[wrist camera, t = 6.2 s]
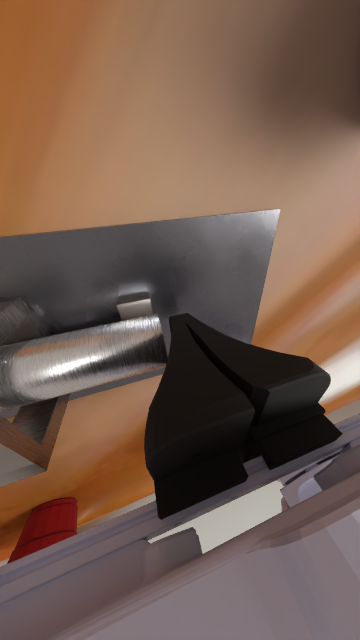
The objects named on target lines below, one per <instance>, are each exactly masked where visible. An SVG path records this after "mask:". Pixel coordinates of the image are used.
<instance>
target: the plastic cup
mask: <svg viewBox="0 0 360 640" xmlns="http://www.w3.org/2000/svg"><path fill="white" fill-rule="evenodd" d="M77 508H78V507H77V500H76V499H72V498H63V499H58V500H53V501H50V502H47V503H44V504H42V505H40V506H38V507H36V508H35V509H34V510H33V511H32V513H31V515H30V517H29V518H28V520H27V522H26V525H25V527H24V529H23V531H22V534H21V536H20V538H19V541H18V543H17V545H16V547H15V550H14V551H13V552H12V554H11V556H10V559H9V561H8V563H7V564H9V563H11V562H13V561H16V560H18V559H20V558H23V557H25V556H27V555H30V554H32V553H34V552H37V551H39V550H41V549H44V548H46V547H48V546H51V545H53V544H56V543H58V542H60V541H63V540H65V539H67V538H70V537H72V536H74V535H77V533H76V529H77Z"/></svg>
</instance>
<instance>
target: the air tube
mask: <svg viewBox="0 0 360 640" xmlns="http://www.w3.org/2000/svg"><path fill="white" fill-rule="evenodd" d="M167 359H168V356H167V351H166V346H165V341H164V337H163V333H162V329H161V325H160V321H159V318H158V315H157V314H153V315H148V316H143V317H138V318H134V319H129V320H124V321H119V322H115V323H110V324H105V325H100V326H95V327H91V328H86V329H81V330H76V331H72V332H67V333H62V334H57V335H52V336H48V337H43V338H38V339H33V340H29V341H24V342H19V343H14V344H9V345H5V346H0V412H3V411H7V410H10V409H14V408H18V407H21V406H25V405H29V404H32V403H36V402H39V401H43V400H47V399H50V398H54V397H58V396H61V395H65V394H69V393H72V392H76V391H80V390H83V389H87V388H91V387H94V386H98V385H101V384H105V383H109V382H112V381H116V380H120V379H123V378H127V377H131V376H134V375H138V374H142V373H145V372H149V371H152V370H156V369H160V368H163V367H166V363H167Z"/></svg>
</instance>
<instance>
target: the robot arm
mask: <svg viewBox="0 0 360 640" xmlns="http://www.w3.org/2000/svg"><path fill="white" fill-rule="evenodd" d="M169 325H170V332H171V342H170V350H169V355H168V359H167V363H166V367H165V370H164V373H163V376H162V379H161V382H160V384H159V387H158V389H157V392H156V394H155V396H154V398H153V401H152V403H151V405H150V407H149V412H148V417H147V423H146V429H145V439H144V449H145V459H146V467H147V469H148V471H149V473H150V475H151V476H152V478H153V480H154V486H155V495H156V501H154V502H151V503H149V504H147V505H144V506H142V507H140V508H137V509H135V510H133V511H130V512H128V513H126V514H123V515H121V516H119V517H116V518H114V519H112V520H109V521H107V522H105V523H102V524H100V525H98V526H95V527H93V528H91V529H88V530H86V531H84V532H81V533H79V534H77V535H74V536H72V537H70V538H67V539H65V540H63V541H60V542H58V543H56V544H53V545H51V546H48V547H46V548H44V549H41V550H39V551H37V552H34V553H32V554H30V555H27V556H25V557H23V558H20V559H18V560H16V561H13V562H11V563H9V564H6V565H4V566H2V567H0V640H360V414H357V415H355V416H352V417H350V418H348V419H345V420H343V421H341V422H339V423H336V424H333V423H332V422H331V421H329V419H327V418H326V416H324V415H323V414H324V413H325V412H326V411H325V409H324V408H323V407H322V406H321V405H320V404H319V403H318V401H319V400H320V398H321V397H322V396H323V394H324V393H325V391H326V390H327V388H328V387H329V385H330V381H331V378H330V375H329V374H328V373H327V372H325V371H324V370H323V369H322V368H320V367H319V366H318V365H316V364H315V363H314V362H313V361H311V360H310V359H309V358H306V357H300V356H295V355H290V354H285V353H280V352H276V351H272V350H268V349H264V348H260V347H257V346H254V345H251V344H248V343H245V342H242V341H239V340H237V339H234V338H232V337H229V336H227V335H225V334H223V333H221V332H219V331H217V330H215V329H213V328H211V327H209V326H208V325H206V324H204V323H203V322H201V321H199V320H198V319H196V318H195V317H193V316H192V315H190V314H189V313H184V314H179V315H174V316H170V317H169ZM276 480H277V481H279V482H281V483H282V485H283V486H285V487H283V488H282V489H280V491H281V493H282V495H283V498H282V499H281V505H282V512H281V513H279V514H278V515H276V516H274V517H272V518H270V519H268V520H266V521H264V522H262V523H261V524H259V525H257V526H255V527H253V528H251V529H249V530H247V531H245V532H244V533H242V534H240V535H238V536H236V537H234V538H232V539H230V540H229V541H227V542H225V543H223V544H221V545H219V546H217V547H215V548H214V549H212V550H210V551H208V552H206V553H204V554H203V553H202V550H201V545H200V541H199V537H198V535H197V534H196V530H195V529H194V528H193V527H191V528H189V529H186V530H183V531H181V532H178V533H175V534H173V535H170V536H167V537H165V538H162V539H160V540H158V541H156V542H153V543H152V544H150V543H149V542H147V541H148V540H150V539H152V538H154V537H156V536H158V535H161V534H163V533H165V532H167V531H169V530H171V529H173V528H175V527H178V526H180V525H182V524H184V523H186V522H188V521H190V520H192V519H195V518H197V517H199V516H201V515H203V514H205V513H207V512H210V511H212V510H214V509H216V508H218V507H220V506H222V505H224V504H227V503H229V502H231V501H233V500H235V499H237V498H239V497H241V496H244V495H246V494H248V493H250V492H252V491H254V490H256V489H258V488H261V487H263V486H265V485H267V484H269V483H271V482H273V481H276Z"/></svg>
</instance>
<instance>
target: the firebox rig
mask: <svg viewBox="0 0 360 640" xmlns="http://www.w3.org/2000/svg"><path fill="white" fill-rule="evenodd" d="M280 210H281V209H273V210H263V211H253V212H243V213H233V214H223V215H213V216H203V217H193V218H184V219H174V220H164V221H154V222H144V223H134V224H124V225H114V226H105V227H95V228H85V229H75V230H65V231H55V232H45V233H35V234H25V235H16V236H6V237H0V346H5V345H9V344H14V343H19V342H24V341H29V340H33V339H38V338H43V337H48V336H52V335H57V334H62V333H67V332H72V331H76V330H81V329H86V328H91V327H95V326H100V325H105V324H110V323H115V322H119V321H124V320H129V319H134V318H138V317H143V316H148V315H153V314H157V315H158V318H159V321H160V325H161V329H162V333H163V337H164V341H165V346H166V351H167V356H168V355H169V350H170V342H171V332H170V325H169V317H170V316H174V315H179V314H184V313H189V314H190V315H192V316H193V317H195V318H196V319H198V320H199V321H201V322H203V323H204V324H206V325H208V326H209V327H211V328H213V329H215V330H217V331H219V332H221V333H223V334H225V335H227V336H229V337H232V338H234V339H237V340H239V341H242V342H245V343H248V344H251V342H252V337H253V333H254V328H255V324H256V319H257V314H258V310H259V305H260V301H261V296H262V292H263V287H264V283H265V278H266V273H267V269H268V264H269V260H270V255H271V251H272V246H273V242H274V237H275V232H276V228H277V223H278V219H279V214H280ZM164 370H165V367H163V368H160V369H156V370H152V371H149V372H145V373H142V374H138V375H134V376H131V377H127V378H123V379H120V380H116V381H112V382H109V383H105V384H101V385H98V386H94V387H91V388H87V389H83V390H80V391H76V392H72V393H69V394H65V395H61V396H58V397H54V398H50V399H47V400H43V401H39V402H36V403H32V404H29V405H25V406H21V407H18V408H14V409H10V410H7V411H3V412H0V487H2V486H4V485H7V484H10V483H13V482H16V481H19V480H22V479H25V478H27V477H30V476H33V475H36V474H39V473H42V472H45V471H47V467H48V464H49V461H50V458H51V454H52V451H53V448H54V445H55V442H56V438H57V435H58V432H59V429H60V425H61V422H62V419H63V416H64V413H65V409H66V406H67V403H68V401H69V400H73V399H76V398H80V397H83V396H87V395H90V394H94V393H97V392H101V391H104V390H108V389H112V388H115V387H119V386H122V385H126V384H129V383H133V382H136V381H140V380H143V379H147V378H151V377H154V376H158V375H161V374H163V373H164ZM12 416H16V417H15V419H14V420H13V422H12V424H11V423H10V422H9V421H7V420H6V419H5V418H9V417H12Z"/></svg>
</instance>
